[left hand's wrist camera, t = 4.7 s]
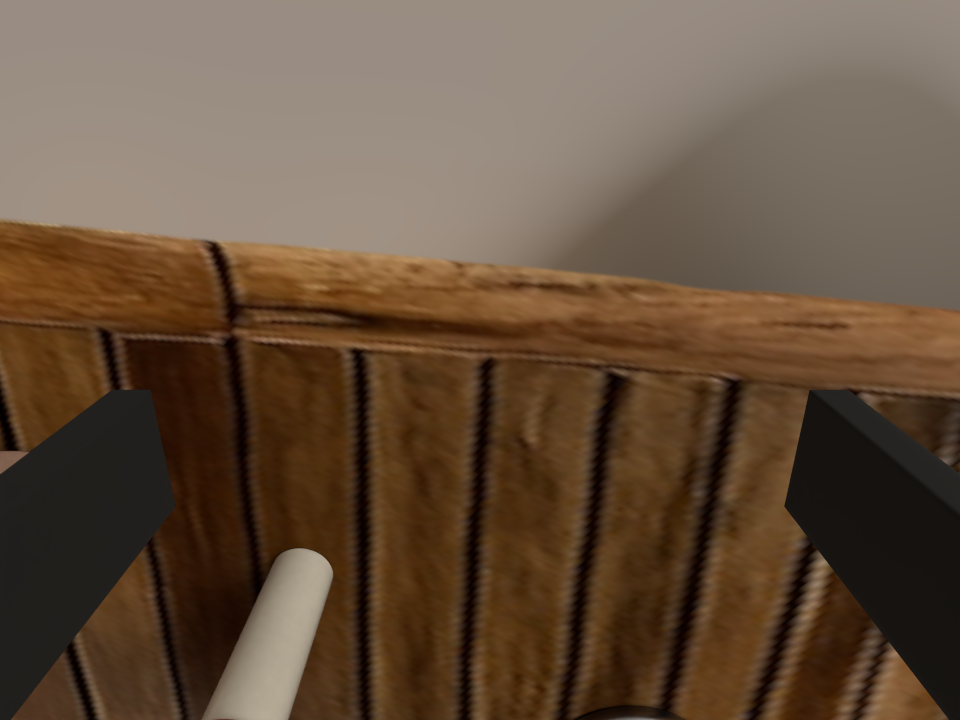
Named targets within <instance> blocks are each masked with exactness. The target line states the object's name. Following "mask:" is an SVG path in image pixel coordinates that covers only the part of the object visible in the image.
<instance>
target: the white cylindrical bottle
mask: <svg viewBox="0 0 960 720" xmlns="http://www.w3.org/2000/svg"><path fill="white" fill-rule="evenodd" d="M332 580H333V571H332V568H331V566H330V564H329V562H328V561H327V560H326V559H325V558H324V557H323V556H322V555H320V554H319V553H317V552H315V551H312V550H309V549H302V548H296V549H290V550H287V551H285V552H283V553H281V554H280V555H279V556H278V557H277V558H276V559H275V561H274V562H273V565H272V567H271V569H270V571H269V573H268V575H267V578H266V580H265V582H264V584H263V586H262V589H261V591H260V593H259V595H258V597H257V599H256V602H255V604H254V606H253V608H252V610H251V612H250V615H249V617H248V619H247V621H246V623H245V626H244V628H243V630H242V632H241V634H240V636H239V639H238V641H237V643H236V645H235V647H234V649H233V652H232V654H231V656H230V658H229V660H228V663H227V665H226V667H225V669H224V671H223V673H222V676H221V678H220V680H219V682H218V684H217V687H216V689H215V691H214V693H213V695H212V697H211V700H210V702H209V704H208V706H207V708H206V710H205V713H204V715H203V717H202V719H201V720H216V719H233V720H289V717H290V713H291V710H292V707H293V704H294V701H295V698H296V694H297V691H298V688H299V685H300V682H301V678H302V675H303V672H304V669H305V666H306V663H307V659H308V656H309V653H310V650H311V647H312V644H313V640H314V637H315V634H316V631H317V628H318V625H319V621H320V618H321V615H322V612H323V609H324V606H325V602H326V599H327V596H328V593H329V590H330V587H331V583H332Z"/></svg>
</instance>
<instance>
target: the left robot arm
mask: <svg viewBox="0 0 960 720" xmlns="http://www.w3.org/2000/svg"><path fill="white" fill-rule="evenodd" d="M175 507H176V506H175V501H174V497H173V492H172V488H171V483H170V478H169V474H168V469H167V465H166V460H165V455H164V451H163V446H162V442H161V437H160V432H159V428H158V423H157V419H156V414H155V409H154V405H153V400H152V396H151V391H150V390H111V391H110V392H109V393H107V394H106V395H105V396H103V397H102V398H101V399H99V400H98V401H97V402H95V403H94V404H93V405H91V406H90V407H89V408H87V409H86V410H85V411H83V412H82V413H81V414H79V415H78V416H77V417H75V418H74V419H73V420H71V421H70V422H69V423H67V424H66V425H65V426H63V427H62V428H61V429H59V430H58V431H57V432H55V433H54V434H53V435H51V436H50V437H49V438H48V439H46V440H45V441H44V442H42V443H41V444H40V445H38V446H37V447H36V448H34V449H33V450H32V451H30V452H29V453H28V454H26V455H25V456H24V457H22V458H21V459H20V460H18V461H17V462H16V463H14V464H13V465H12V466H10V467H9V468H8V469H6V470H5V471H4V472H2V473H1V474H0V720H11V719H12V717H13V716H14V715H15V714H16V712H17V711H18V710H19V708H20V707H21V706H22V705H23V703H24V702H25V701H26V699H27V698H28V697H29V696H30V694H31V693H32V692H33V690H34V689H35V688H36V686H37V685H38V684H39V683H40V681H41V680H42V679H43V677H44V676H45V675H46V674H47V672H48V671H49V670H50V668H51V667H52V666H53V664H54V663H55V662H56V661H57V659H58V658H59V657H60V655H61V654H62V653H63V652H64V650H65V649H66V648H67V646H68V645H69V644H70V642H71V641H72V640H73V639H74V637H75V636H76V635H77V633H78V632H79V631H80V630H81V628H82V627H83V626H84V624H85V623H86V622H87V620H88V619H89V618H90V617H91V615H92V614H93V613H94V611H95V610H96V609H97V608H98V606H99V605H100V604H101V602H102V601H103V600H104V598H105V597H106V596H107V595H108V593H109V592H110V591H111V589H112V588H113V587H114V586H115V584H116V583H117V582H118V580H119V579H120V578H121V576H122V575H123V574H124V573H125V571H126V570H127V569H128V567H129V566H130V565H131V564H132V562H133V561H134V560H135V558H136V557H137V556H138V554H139V553H140V552H141V551H142V549H143V548H144V547H145V545H146V544H147V543H148V542H149V540H150V539H151V538H152V536H153V535H154V534H155V532H156V531H157V530H158V529H159V527H160V526H161V525H162V523H163V522H164V521H165V520H166V518H167V517H168V516H169V514H170V513H171V512H172V511H173V509H174V508H175ZM784 507H785V508H786V509H787V511H788V512H789V513H790V514H791V516H792V517H793V518H794V520H795V521H796V522H797V523H798V525H799V526H800V527H801V529H802V530H803V531H804V532H805V534H806V535H807V536H808V538H809V539H810V540H811V542H812V543H813V544H814V545H815V547H816V548H817V549H818V551H819V552H820V553H821V554H822V556H823V557H824V558H825V560H826V561H827V562H828V564H829V565H830V566H831V567H832V569H833V570H834V571H835V573H836V574H837V575H838V576H839V578H840V579H841V580H842V582H843V583H844V584H845V586H846V587H847V588H848V589H849V591H850V592H851V593H852V595H853V596H854V597H855V598H856V600H857V601H858V602H859V604H860V605H861V606H862V608H863V609H864V610H865V611H866V613H867V614H868V615H869V617H870V618H871V619H872V620H873V622H874V623H875V624H876V626H877V627H878V628H879V630H880V631H881V632H882V633H883V635H884V636H885V637H886V639H887V640H888V641H889V642H890V644H891V645H892V646H893V648H894V649H895V650H896V652H897V653H898V654H899V655H900V657H901V658H902V659H903V661H904V662H905V663H906V664H907V666H908V667H909V668H910V670H911V671H912V672H913V674H914V675H915V676H916V677H917V679H918V680H919V681H920V683H921V684H922V685H923V686H924V688H925V689H926V690H927V692H928V693H929V694H930V696H931V697H932V698H933V699H934V701H935V702H936V703H937V705H938V706H939V707H940V708H941V710H942V711H943V712H944V714H945V715H946V716H947V717H948V719H949V720H960V474H959V473H958V472H956V471H955V470H954V469H952V468H951V467H950V466H948V465H947V464H946V463H944V462H943V461H942V460H940V459H939V458H938V457H936V456H935V455H934V454H932V453H931V452H930V451H928V450H927V449H926V448H924V447H923V446H922V445H920V444H919V443H918V442H916V441H915V440H914V439H912V438H911V437H910V436H909V435H907V434H906V433H905V432H903V431H902V430H901V429H899V428H898V427H897V426H895V425H894V424H893V423H891V422H890V421H889V420H887V419H886V418H885V417H883V416H882V415H881V414H879V413H878V412H877V411H875V410H874V409H873V408H871V407H870V406H869V405H867V404H866V403H865V402H863V401H862V400H861V399H859V398H858V397H857V396H855V395H854V394H853V393H851V392H850V391H849V390H810V391H809V396H808V400H807V405H806V409H805V414H804V419H803V423H802V428H801V432H800V437H799V442H798V446H797V451H796V455H795V460H794V465H793V469H792V474H791V478H790V483H789V488H788V492H787V497H786V501H785V506H784ZM578 720H685V719H683V718H681V717H680V716H677V715H675V714H673V713H670V712H667V711H664V710H660V709H656V708H650V707H641V706H626V707H616V708H610V709H605V710H601V711H598V712H595V713H592V714H589V715H587V716H584V717H582V718H580V719H578Z"/></svg>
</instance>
